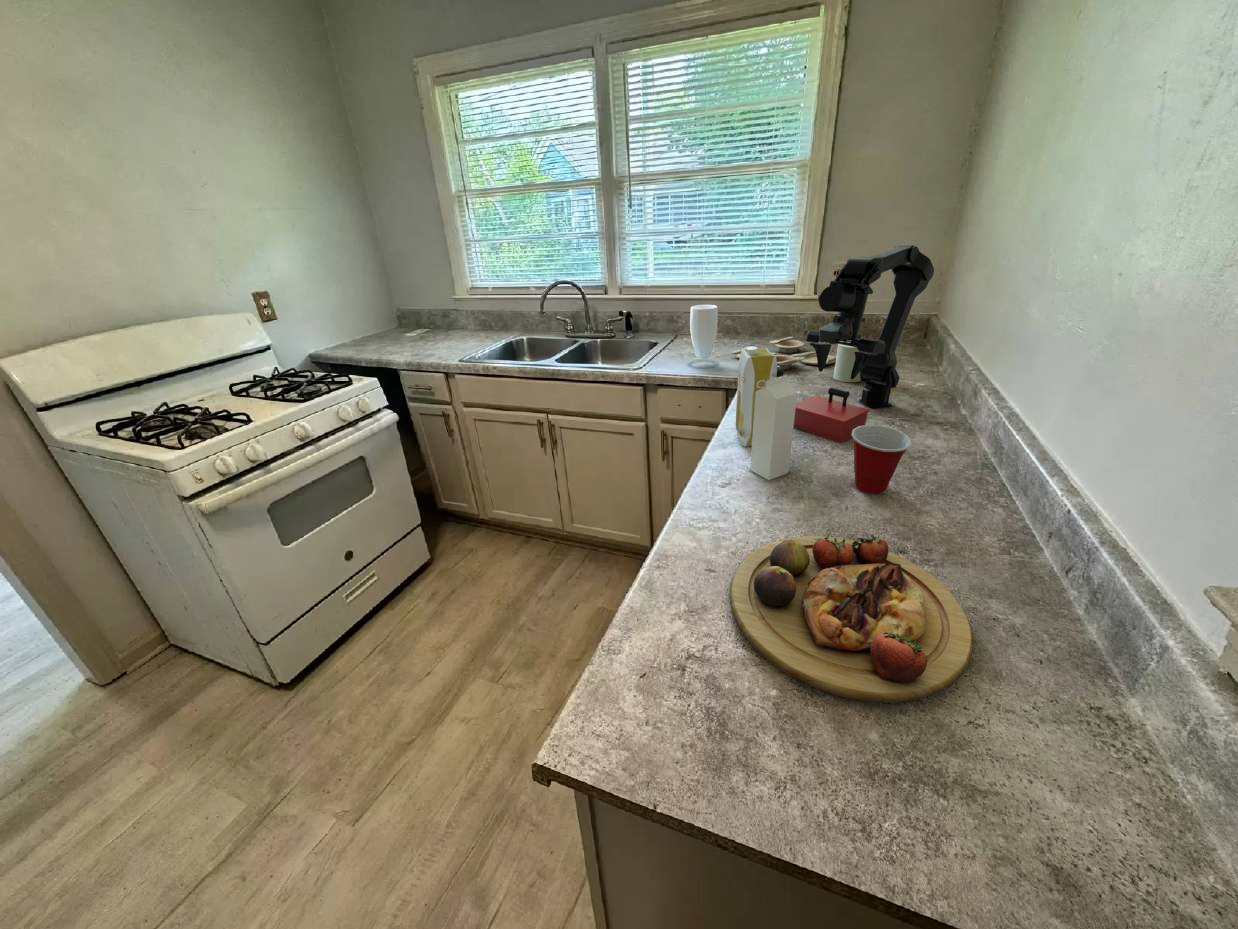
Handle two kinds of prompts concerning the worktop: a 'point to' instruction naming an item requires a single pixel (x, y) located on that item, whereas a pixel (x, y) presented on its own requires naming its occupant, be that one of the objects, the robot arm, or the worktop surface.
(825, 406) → the red box lid
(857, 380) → the can
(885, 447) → the plastic cup
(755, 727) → the worktop surface
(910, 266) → the robot arm
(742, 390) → the juice carton
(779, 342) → the tableware set
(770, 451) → the milk
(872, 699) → the wooden plate
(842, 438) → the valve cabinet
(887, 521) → the worktop surface
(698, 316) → the cup
